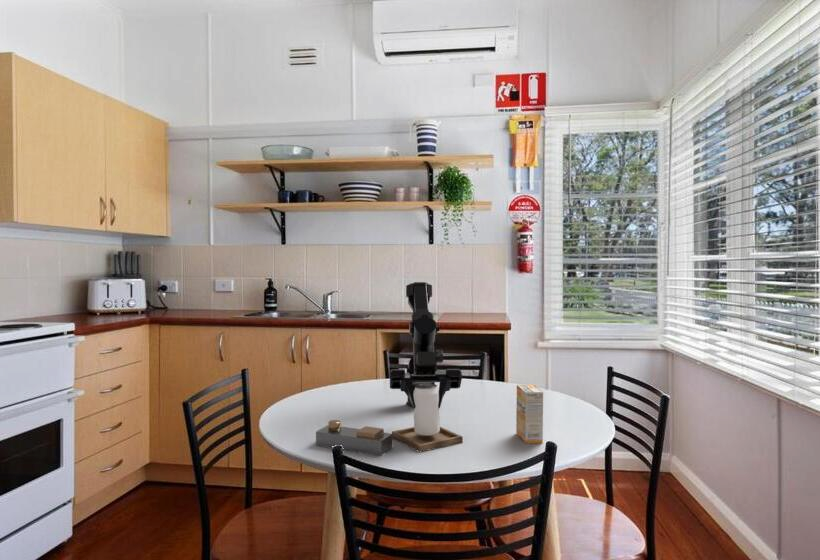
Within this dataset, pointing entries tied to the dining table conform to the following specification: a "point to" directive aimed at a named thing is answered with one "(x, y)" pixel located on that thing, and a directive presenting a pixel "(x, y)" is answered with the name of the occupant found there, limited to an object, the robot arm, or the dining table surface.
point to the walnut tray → (426, 439)
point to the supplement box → (529, 414)
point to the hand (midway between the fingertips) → (427, 407)
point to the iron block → (354, 438)
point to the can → (426, 410)
